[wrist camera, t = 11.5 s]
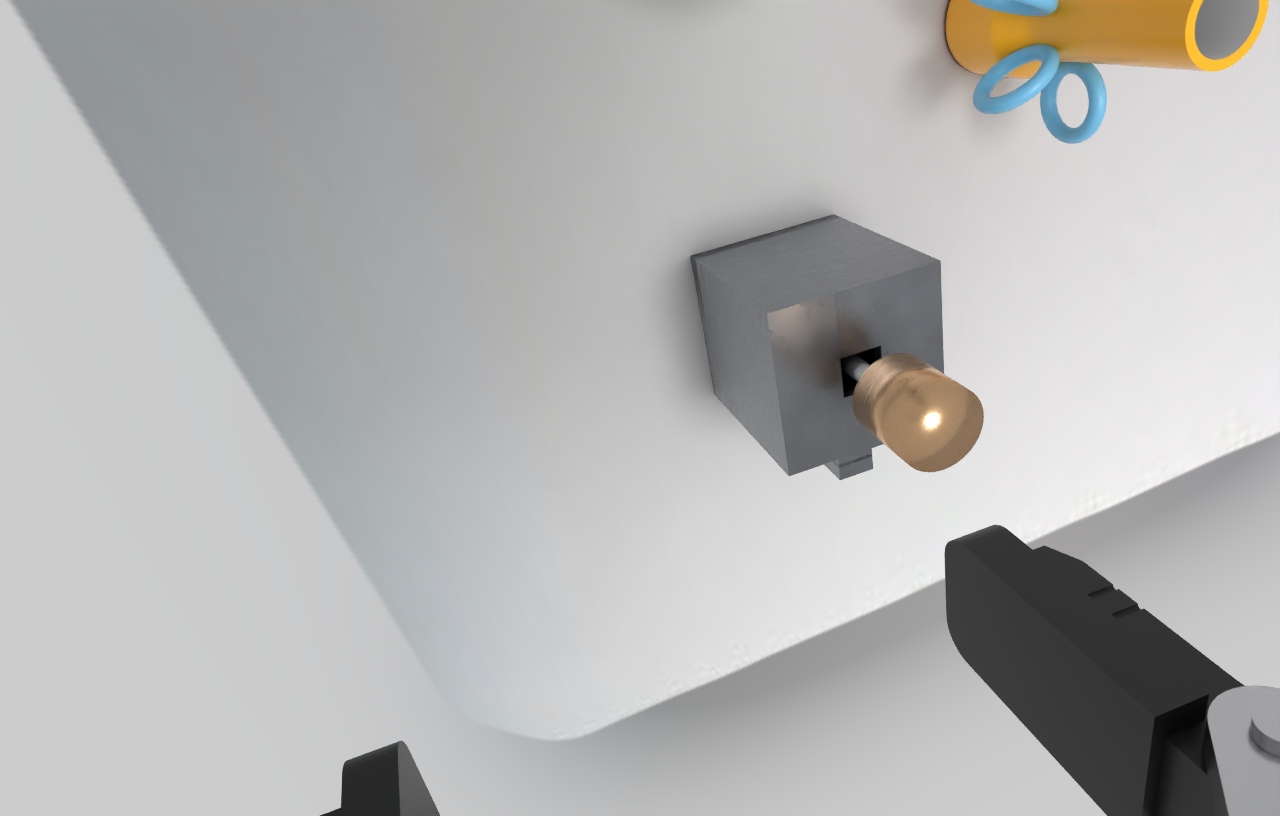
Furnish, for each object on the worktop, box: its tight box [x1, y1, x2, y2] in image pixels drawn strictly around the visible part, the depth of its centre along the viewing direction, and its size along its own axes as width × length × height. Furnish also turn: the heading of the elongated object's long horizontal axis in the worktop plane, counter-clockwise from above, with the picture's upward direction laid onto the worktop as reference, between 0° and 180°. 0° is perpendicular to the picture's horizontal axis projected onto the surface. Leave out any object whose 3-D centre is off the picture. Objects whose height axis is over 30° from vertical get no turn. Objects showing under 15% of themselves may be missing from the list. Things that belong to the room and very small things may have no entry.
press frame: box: [691, 215, 944, 480], centre depth 47 cm, size 12×9×11 cm
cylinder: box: [946, 0, 1268, 144], centre depth 41 cm, size 12×10×15 cm
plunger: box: [840, 353, 984, 472], centre depth 43 cm, size 7×7×15 cm
